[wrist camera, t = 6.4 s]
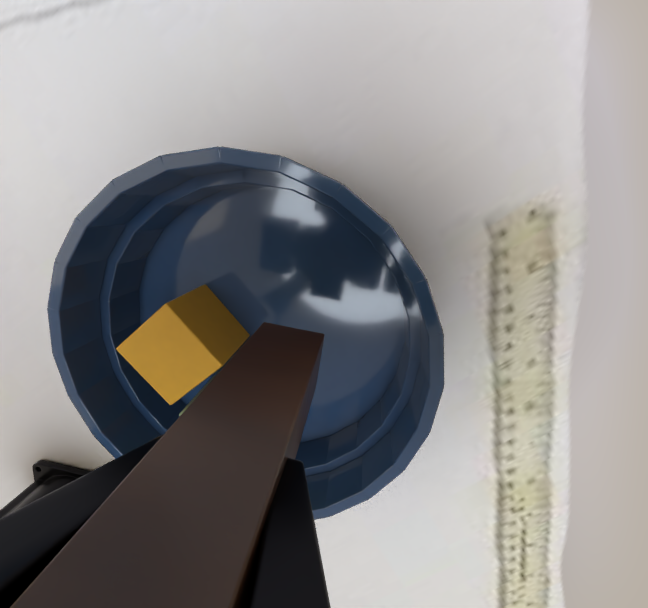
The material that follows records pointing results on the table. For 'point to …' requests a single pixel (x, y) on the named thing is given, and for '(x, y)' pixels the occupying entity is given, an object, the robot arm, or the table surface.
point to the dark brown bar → (195, 492)
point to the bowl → (254, 306)
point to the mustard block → (184, 343)
